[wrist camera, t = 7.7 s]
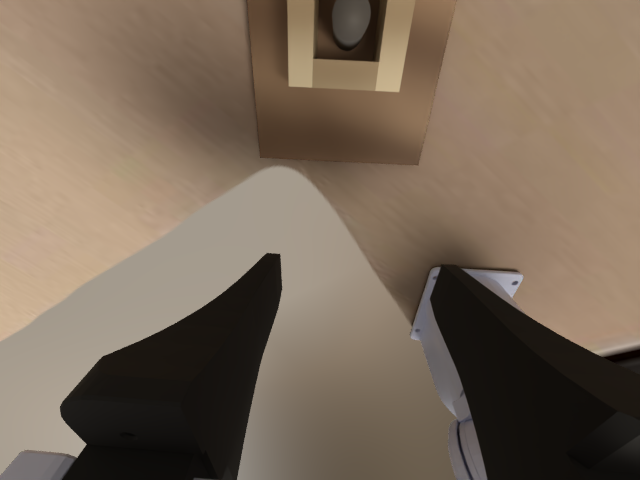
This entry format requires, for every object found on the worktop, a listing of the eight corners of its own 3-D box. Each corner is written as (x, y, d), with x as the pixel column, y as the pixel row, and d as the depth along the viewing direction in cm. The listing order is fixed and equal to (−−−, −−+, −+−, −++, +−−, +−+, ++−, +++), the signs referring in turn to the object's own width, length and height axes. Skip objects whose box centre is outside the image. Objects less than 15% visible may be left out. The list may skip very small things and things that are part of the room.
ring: (388, 91, 15) (399, 92, 13) (296, 86, 16) (288, 86, 13) (409, -41, 12) (428, -74, 10) (296, -45, 13) (286, -79, 10)
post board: (414, 161, 18) (438, 184, 14) (263, 154, 19) (242, 174, 14) (486, -162, 11) (580, -318, 7) (239, -165, 11) (181, -315, 7)
